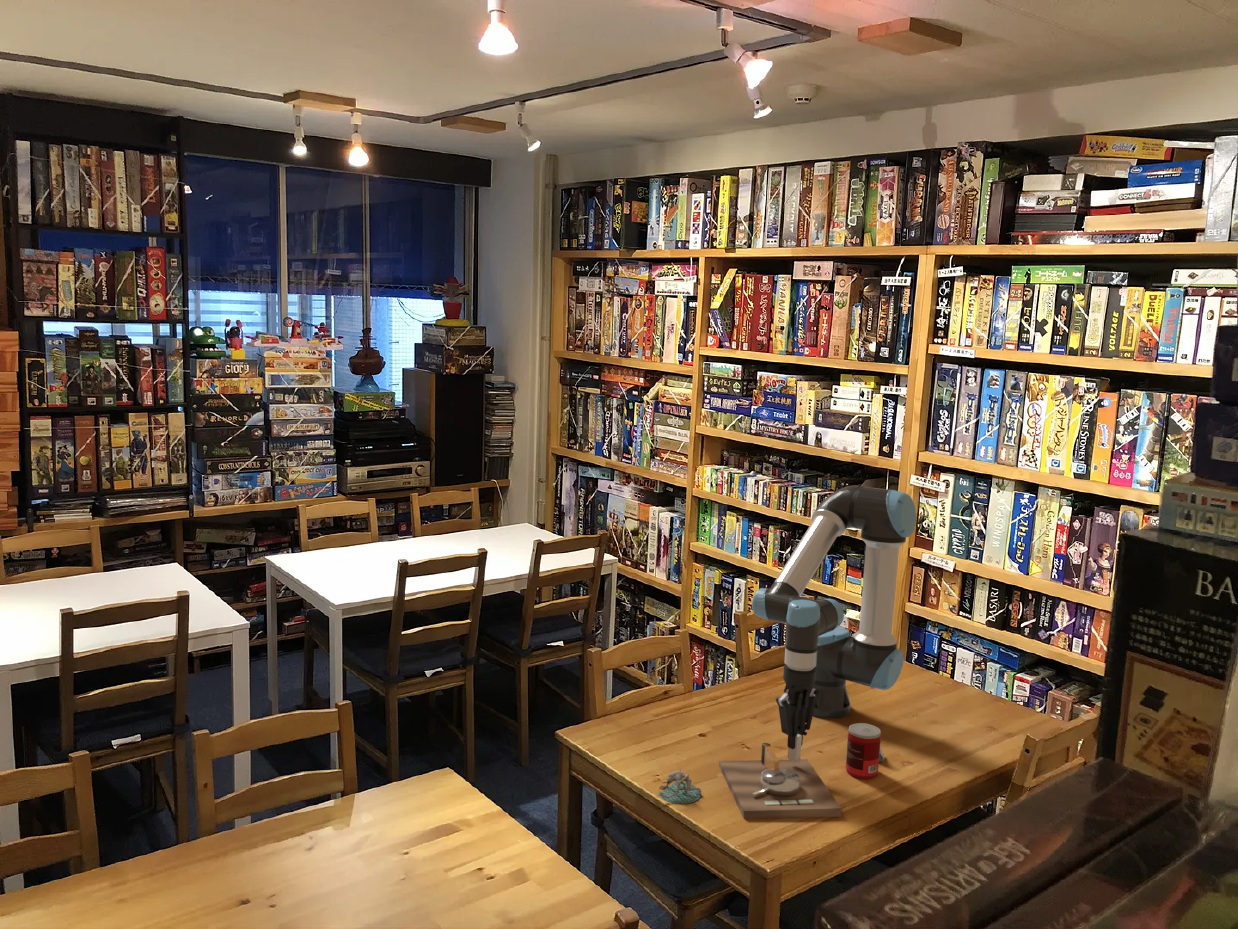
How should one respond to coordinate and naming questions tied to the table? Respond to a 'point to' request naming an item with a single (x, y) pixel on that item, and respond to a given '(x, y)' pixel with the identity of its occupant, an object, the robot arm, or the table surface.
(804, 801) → the level stand
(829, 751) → the table surface
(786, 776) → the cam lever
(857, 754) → the canned food
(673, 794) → the figurine
